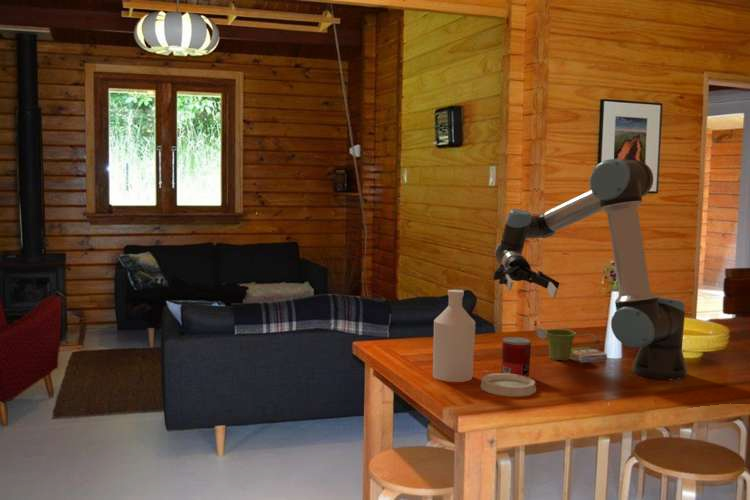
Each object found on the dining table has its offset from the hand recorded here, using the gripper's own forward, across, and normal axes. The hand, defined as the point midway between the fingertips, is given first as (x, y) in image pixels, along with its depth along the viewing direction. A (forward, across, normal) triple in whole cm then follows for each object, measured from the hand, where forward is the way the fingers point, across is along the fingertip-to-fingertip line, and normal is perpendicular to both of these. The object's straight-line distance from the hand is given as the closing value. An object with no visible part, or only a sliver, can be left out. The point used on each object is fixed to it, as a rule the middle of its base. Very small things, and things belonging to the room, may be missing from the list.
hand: (533, 290), depth 226 cm
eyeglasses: (-42, -32, -30) cm, 61 cm away
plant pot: (-13, -19, -26) cm, 35 cm away
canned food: (+9, +1, -24) cm, 26 cm away
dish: (+20, +7, -23) cm, 31 cm away
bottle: (+9, +19, -27) cm, 35 cm away
